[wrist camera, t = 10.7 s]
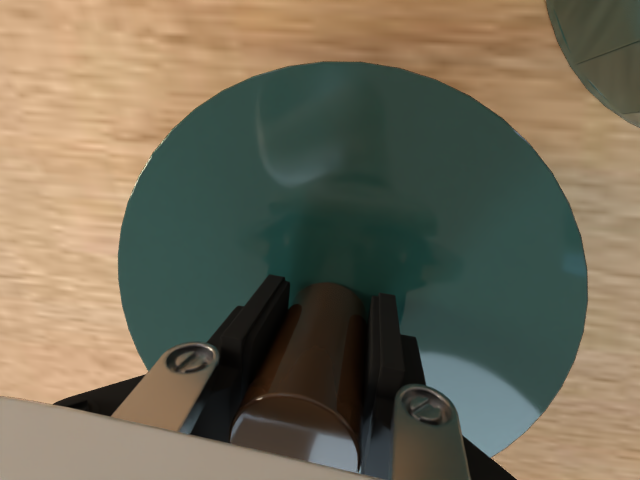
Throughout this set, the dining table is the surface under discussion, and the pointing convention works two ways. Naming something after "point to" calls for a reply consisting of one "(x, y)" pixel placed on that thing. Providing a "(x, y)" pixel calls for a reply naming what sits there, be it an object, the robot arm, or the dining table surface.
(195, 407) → the robot arm
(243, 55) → the dining table surface
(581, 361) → the dining table surface
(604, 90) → the pot
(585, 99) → the dining table surface
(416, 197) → the lid
